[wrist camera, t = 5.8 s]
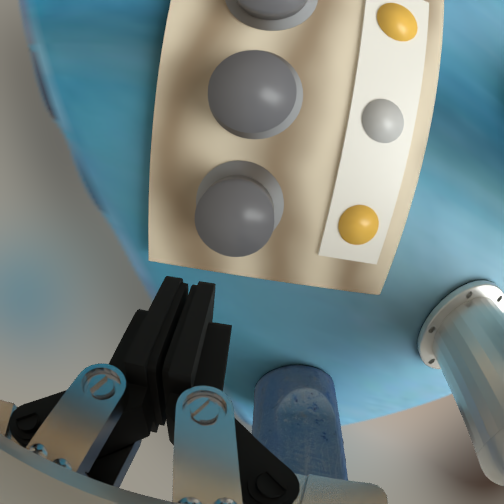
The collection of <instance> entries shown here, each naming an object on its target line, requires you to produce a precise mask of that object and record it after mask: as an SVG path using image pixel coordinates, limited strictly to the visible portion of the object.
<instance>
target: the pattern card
mask: <svg viewBox="0 0 504 504" xmlns="http://www.w3.org/2000/svg"><path fill="white" fill-rule="evenodd" d="M428 18H429V3H428V2H426V1H424V0H365V4H364V14H363V22H362V31H361V38H360V46H359V53H358V60H357V67H356V73H355V80H354V86H353V92H352V98H351V104H350V109H349V115H348V120H347V126H346V131H345V136H344V141H343V146H342V151H341V156H340V161H339V166H338V170H337V175H336V180H335V184H334V189H333V193H332V197H331V202H330V206H329V210H328V215H327V219H326V223H325V227H324V231H323V235H322V239H321V243H320V247H319V251H318V255H320V256H326V257H332V258H339V259H345V260H351V261H357V262H364V263H370V264H376V265H377V262H378V259H379V256H380V253H381V250H382V247H383V244H384V241H385V238H386V234H387V231H388V228H389V225H390V222H391V218H392V215H393V211H394V208H395V205H396V201H397V197H398V194H399V190H400V186H401V182H402V179H403V175H404V171H405V167H406V162H407V158H408V154H409V149H410V145H411V140H412V135H413V131H414V126H415V120H416V115H417V109H418V104H419V98H420V92H421V85H422V78H423V70H424V62H425V54H426V44H427V32H428Z"/></svg>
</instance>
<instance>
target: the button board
mask: <svg viewBox="0 0 504 504" xmlns="http://www.w3.org/2000/svg"><path fill="white" fill-rule="evenodd" d="M424 1H426V2H428V3H429V18H428V32H427V44H426V54H425V62H424V70H423V78H422V85H421V92H420V98H419V104H418V109H417V115H416V120H415V126H414V131H413V135H412V140H411V145H410V149H409V154H408V158H407V162H406V167H405V171H404V175H403V179H402V182H401V186H400V190H399V194H398V197H397V201H396V205H395V208H394V211H393V215H392V218H391V222H390V225H389V228H388V231H387V234H386V238H385V241H384V244H383V247H382V250H381V253H380V256H379V259H378V262H377V265H376V264H370V263H364V262H357V261H351V260H345V259H339V258H332V257H326V256H320V255H318V251H319V247H320V243H321V239H322V235H323V231H324V227H325V223H326V219H327V215H328V210H329V206H330V202H331V197H332V193H333V189H334V184H335V180H336V175H337V170H338V166H339V161H340V156H341V151H342V146H343V141H344V136H345V131H346V126H347V120H348V115H349V109H350V104H351V98H352V92H353V86H354V80H355V73H356V67H357V60H358V53H359V46H360V38H361V31H362V22H363V14H364V4H365V0H307V2H306V4H305V6H304V7H303V8H302V9H301V10H300V11H299V12H298V13H296V14H295V15H293V16H291V17H288V18H285V19H280V20H265V19H260V18H257V17H254V16H252V15H250V14H248V13H247V12H245V11H244V10H243V9H242V8H241V7H240V6H239V5H238V3H237V2H236V0H171V3H170V8H169V13H168V18H167V23H166V28H165V34H164V40H163V46H162V52H161V59H160V66H159V73H158V81H157V89H156V98H155V107H154V118H153V129H152V142H151V158H150V178H149V220H148V238H149V261H154V262H160V263H166V264H172V265H178V266H184V267H190V268H196V269H202V270H208V271H214V272H221V273H227V274H233V275H240V276H246V277H253V278H260V279H266V280H273V281H280V282H287V283H294V284H301V285H308V286H315V287H322V288H329V289H337V290H344V291H352V292H360V293H367V294H375V295H380V293H381V290H382V288H383V285H384V283H385V280H386V278H387V275H388V272H389V270H390V267H391V264H392V261H393V259H394V256H395V253H396V250H397V247H398V244H399V241H400V238H401V235H402V232H403V229H404V226H405V223H406V220H407V217H408V213H409V210H410V207H411V203H412V200H413V196H414V193H415V189H416V185H417V182H418V178H419V174H420V170H421V166H422V162H423V158H424V153H425V149H426V144H427V140H428V135H429V130H430V125H431V120H432V114H433V109H434V103H435V97H436V90H437V83H438V75H439V67H440V58H441V48H442V35H443V16H444V0H424ZM247 50H258V51H263V52H267V53H270V54H272V55H274V56H276V57H277V58H279V59H280V60H282V61H283V62H284V63H285V64H286V65H287V66H288V68H289V69H290V71H291V72H292V74H293V76H294V79H295V82H296V88H297V94H296V101H295V104H294V107H293V109H292V111H291V113H290V114H289V115H288V117H287V118H286V119H285V120H284V121H283V122H282V123H281V124H279V125H278V126H276V127H274V128H272V129H270V130H268V131H264V132H260V133H244V132H240V131H236V130H234V129H232V128H230V127H228V126H226V125H225V124H224V123H222V122H221V121H220V120H219V119H218V118H217V117H216V115H215V114H214V112H213V110H212V109H211V106H210V103H209V99H208V84H209V80H210V78H211V75H212V73H213V71H214V70H215V68H216V67H217V66H218V65H219V64H220V63H221V62H222V61H223V60H224V59H226V58H227V57H229V56H231V55H233V54H235V53H238V52H241V51H247ZM230 175H244V176H248V177H251V178H253V179H255V180H257V181H258V182H260V183H261V184H262V185H263V186H264V187H265V188H266V189H267V190H268V192H269V193H270V195H271V197H272V200H273V204H274V229H273V232H272V235H271V237H270V239H269V240H268V242H267V243H266V244H265V245H264V246H263V247H262V248H261V249H260V250H258V251H257V252H255V253H253V254H250V255H247V256H243V257H229V256H224V255H222V254H219V253H217V252H215V251H213V250H212V249H210V248H209V247H208V246H207V245H206V244H205V243H204V242H203V241H202V239H201V238H200V236H199V235H198V232H197V230H196V226H195V210H196V206H197V204H198V202H199V200H200V199H201V197H202V196H203V194H204V193H205V192H206V190H207V189H208V188H209V187H210V186H211V185H212V184H213V183H214V182H215V181H217V180H218V179H220V178H223V177H226V176H230Z"/></svg>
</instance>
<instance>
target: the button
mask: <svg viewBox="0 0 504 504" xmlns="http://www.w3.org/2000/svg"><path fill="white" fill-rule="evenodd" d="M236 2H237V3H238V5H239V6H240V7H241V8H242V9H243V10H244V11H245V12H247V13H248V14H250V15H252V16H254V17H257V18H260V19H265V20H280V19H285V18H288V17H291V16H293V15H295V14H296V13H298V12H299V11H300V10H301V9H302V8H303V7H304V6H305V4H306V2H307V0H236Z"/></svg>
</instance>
